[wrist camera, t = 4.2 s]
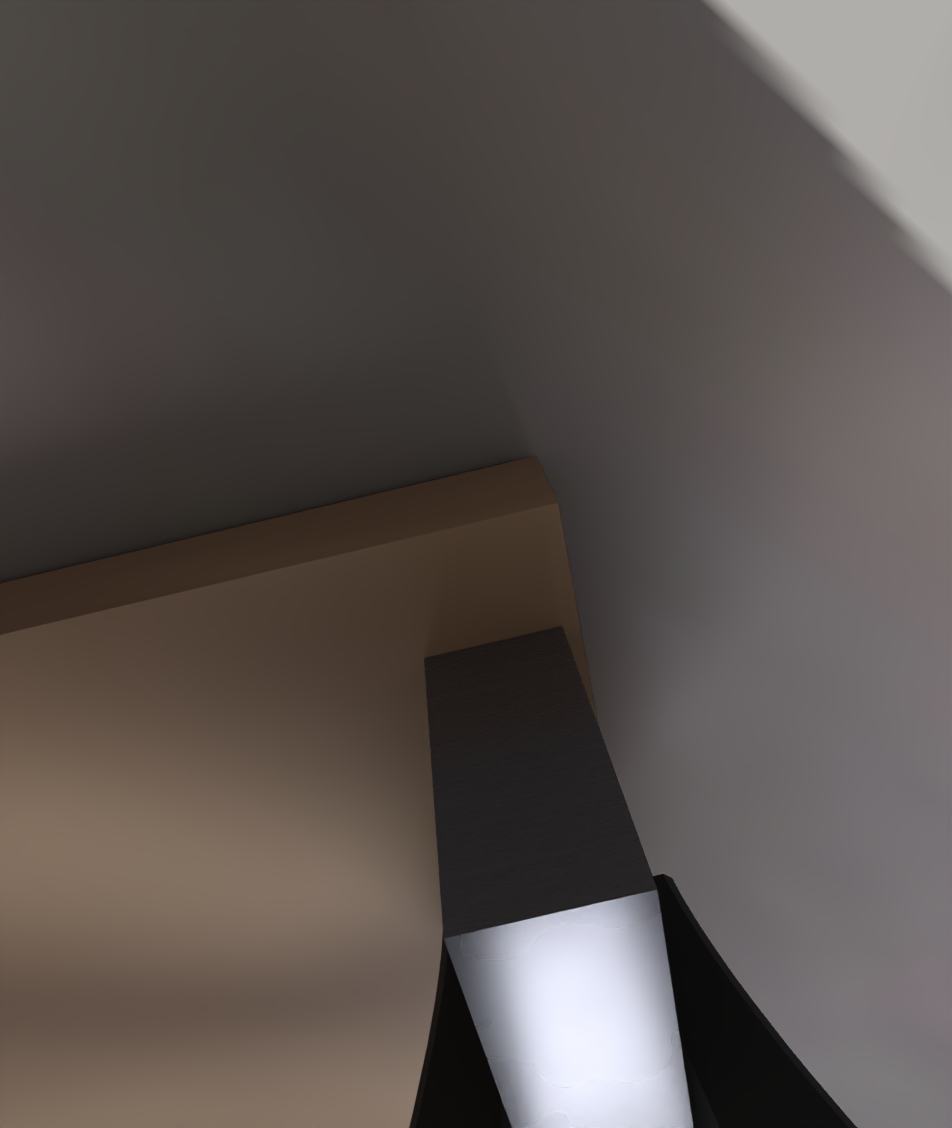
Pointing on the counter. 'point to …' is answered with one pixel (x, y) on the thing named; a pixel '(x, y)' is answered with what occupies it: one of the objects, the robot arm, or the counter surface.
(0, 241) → the counter surface
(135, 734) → the wooden tray
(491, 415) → the counter surface
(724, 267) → the counter surface
